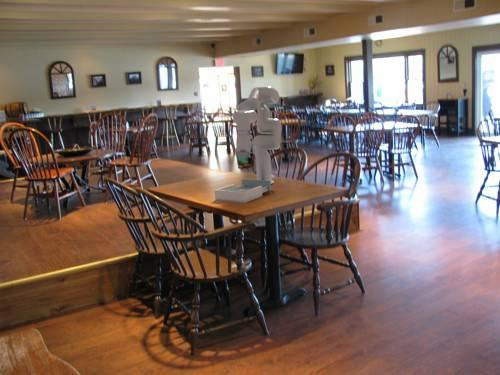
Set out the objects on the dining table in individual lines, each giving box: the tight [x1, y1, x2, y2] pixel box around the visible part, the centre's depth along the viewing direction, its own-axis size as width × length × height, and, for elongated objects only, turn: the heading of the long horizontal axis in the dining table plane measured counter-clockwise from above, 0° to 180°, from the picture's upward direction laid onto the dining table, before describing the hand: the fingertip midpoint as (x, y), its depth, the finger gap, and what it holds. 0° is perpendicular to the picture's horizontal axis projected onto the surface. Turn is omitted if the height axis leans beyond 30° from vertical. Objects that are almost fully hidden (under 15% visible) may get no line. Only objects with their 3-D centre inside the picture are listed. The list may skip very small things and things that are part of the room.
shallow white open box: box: [214, 183, 263, 204], centre depth 295 cm, size 19×20×6 cm
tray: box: [227, 178, 272, 194], centre depth 303 cm, size 18×20×6 cm
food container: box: [234, 150, 253, 170], centre depth 299 cm, size 12×6×10 cm, turn 132°
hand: (246, 163), depth 300 cm, fingers closed on food container, 5 cm apart
